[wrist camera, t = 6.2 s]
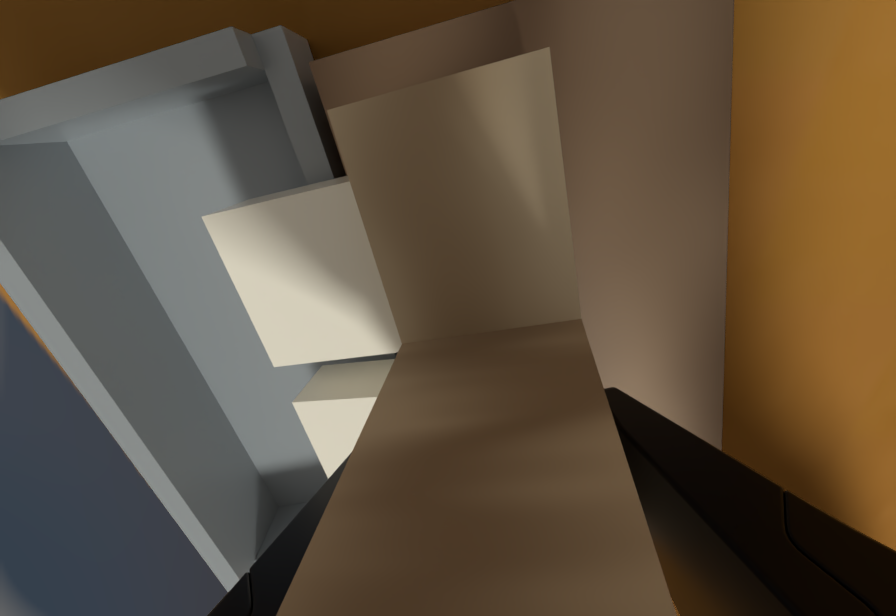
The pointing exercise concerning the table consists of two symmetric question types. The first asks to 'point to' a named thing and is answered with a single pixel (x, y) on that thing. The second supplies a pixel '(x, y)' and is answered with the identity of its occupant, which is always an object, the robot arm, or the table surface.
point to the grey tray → (171, 268)
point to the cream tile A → (306, 274)
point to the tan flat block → (614, 170)
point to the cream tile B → (339, 407)
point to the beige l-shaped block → (478, 377)
